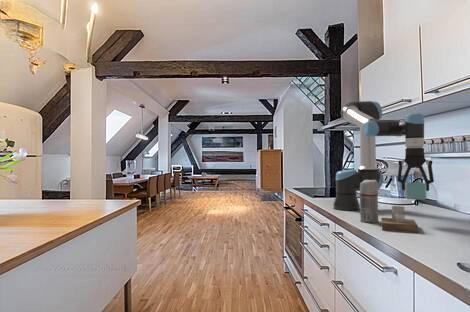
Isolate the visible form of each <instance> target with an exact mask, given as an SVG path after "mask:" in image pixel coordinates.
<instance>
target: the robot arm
mask: <svg viewBox="0 0 470 312" xmlns="http://www.w3.org/2000/svg"><path fill="white" fill-rule="evenodd" d="M340 115H341V119H343V120H344V121H345V122H347V123H352V124H353V125H355V126H357V127H359V143H360V144H359V146H360V148H359V150H360V151H359V154H360V161H359V162H360V166H359V167H358V168H357V170H356V169H345V170H339V171H337V172H336V173H335V195H336V196H335V198H334V202H333V205H332V207H333V209H334V210H337V211H338V210H339V211H358V210H359V211H360V201H359V200H358V196H357V192H360V183H361V182H363V181H364V180H377V182H378V190H380V189H381V187H382V186H383V182H384V176H383V173H382V172H381V171H379V167H377V161H376V160H377V159H376V157H377V156H376V145H377V144H376V137H405V138H404V139H405V142H404V143H405V146H404V147H405V151H404V152H405V158H404V159H403V160H398V161H397V162H398V163H397V164H398V170H397V171H398V173H397V182H398V183H401V190H402V191H404V198H406V199H407V183H406V182H407V181H406V180H407V178H408V176H409V173H410V171H411V169H414V168H415V169H416V168H417V169H419V171H420V174H421V176H422V178H423V181H424V182H423V183H424V184H425V199H427V192H429V191H430V184H432V183H434V182H435V180H434V174H433V166H432V164H433V160H428V159H426V158H425V148H424V147H425V119H424V118H425V117H424V114H423V113H417V112H416V113H408V114H406V115H404V116H405V117H404V120H403V119H402V120H381V119H382V117H383V109H382V106H381V104H380V103H379V102H378V101H374V100H373V101H370V100H369V101H368V100H367V101H365V100H364V101H356V100H355V101H349V102H347V103H345V104H344V105H343V106H342V107H341V109H340ZM404 163H405V164H406V165H407V167H406V170H405V173H404V175H403V177H402V172H403V165H404ZM424 164H426V165H427V171H428V177H427V174H426V172H425V170H424V167H423V165H424ZM428 178H429V179H428Z"/></svg>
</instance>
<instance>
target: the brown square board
mask: <svg viewBox="0 0 470 312" xmlns="http://www.w3.org/2000/svg"><path fill="white" fill-rule="evenodd" d="M405 214H406V213H405V206H404V205H399V204H398V205H391V217H381V219H380V220H381V230H382V231H387V232H400V233H401V232H402V233H415V234H418V233H419V231H418V230H419V227H418V223H417V222H416V220H415V219H414V218H413V219H411V218H410V219H409V218H405Z"/></svg>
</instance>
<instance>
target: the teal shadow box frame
mask: <svg viewBox="0 0 470 312" xmlns="http://www.w3.org/2000/svg"><path fill="white" fill-rule="evenodd" d="M405 183H407V198H406V199H407V200H422V201H423V200H424V201H426V198H425V184H424V183H425V182H419V181H417V182H415V181H413V182H410V181H409V182H408V181H405Z"/></svg>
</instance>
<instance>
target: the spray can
mask: <svg viewBox="0 0 470 312" xmlns="http://www.w3.org/2000/svg"><path fill="white" fill-rule="evenodd" d="M378 199H379V189H378V182H377V180H364V181H363V182H361V183H360V191H359V205H360V209H359V212H360V213H359V214H360V217H359V218H360V221H361V222H362V223H367V224H368V223H369V224H370V223H371V224H372V223H373V224H374V223H379V201H378Z"/></svg>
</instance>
